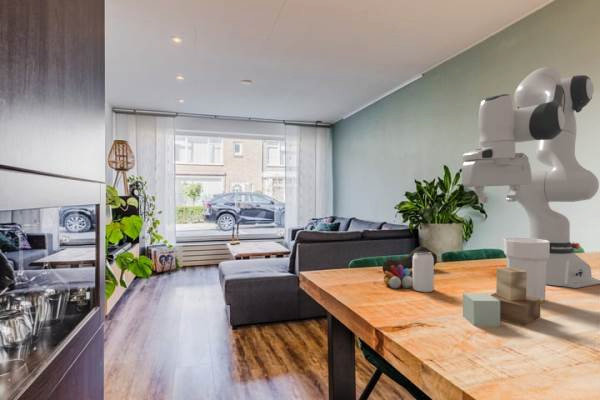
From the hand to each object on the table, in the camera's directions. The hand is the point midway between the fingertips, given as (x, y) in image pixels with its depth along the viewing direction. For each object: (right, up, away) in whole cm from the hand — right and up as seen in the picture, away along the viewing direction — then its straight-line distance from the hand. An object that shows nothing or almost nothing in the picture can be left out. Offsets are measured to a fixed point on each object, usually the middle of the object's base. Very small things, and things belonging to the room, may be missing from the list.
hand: (497, 202), depth 93 cm
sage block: (-12, -29, -13) cm, 34 cm away
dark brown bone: (-11, -29, +39) cm, 49 cm away
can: (-16, -29, +14) cm, 36 cm away
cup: (+11, -29, +4) cm, 31 cm away
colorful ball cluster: (-22, -29, +19) cm, 41 cm away
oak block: (-3, -24, -10) cm, 26 cm away
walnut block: (-2, -29, -10) cm, 31 cm away
